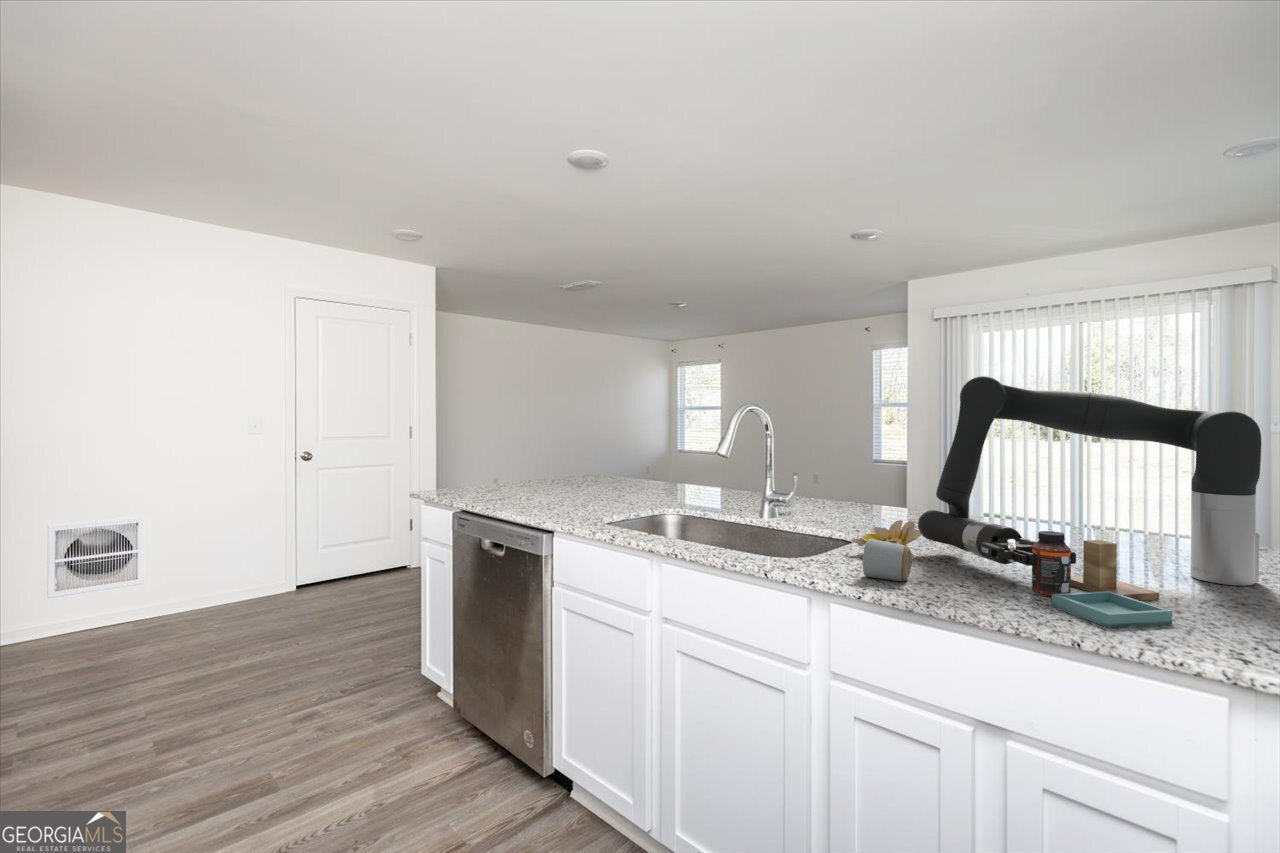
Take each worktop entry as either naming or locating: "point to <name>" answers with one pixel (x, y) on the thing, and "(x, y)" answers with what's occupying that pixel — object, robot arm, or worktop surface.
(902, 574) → the ceramic mug
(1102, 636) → the worktop surface
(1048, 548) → the supplement bottle
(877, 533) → the decorative flower
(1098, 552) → the wooden stand
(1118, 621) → the tray
